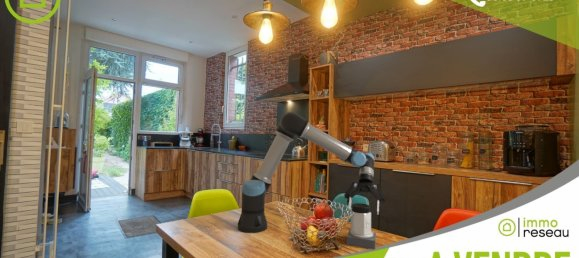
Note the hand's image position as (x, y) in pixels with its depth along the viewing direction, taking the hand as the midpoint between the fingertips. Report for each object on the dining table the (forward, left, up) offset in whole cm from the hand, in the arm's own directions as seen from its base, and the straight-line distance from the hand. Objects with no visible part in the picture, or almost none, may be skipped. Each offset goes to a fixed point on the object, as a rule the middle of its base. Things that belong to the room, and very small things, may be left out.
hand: (363, 211), depth 132 cm
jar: (0, -11, -7) cm, 13 cm away
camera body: (0, -11, -11) cm, 15 cm away
